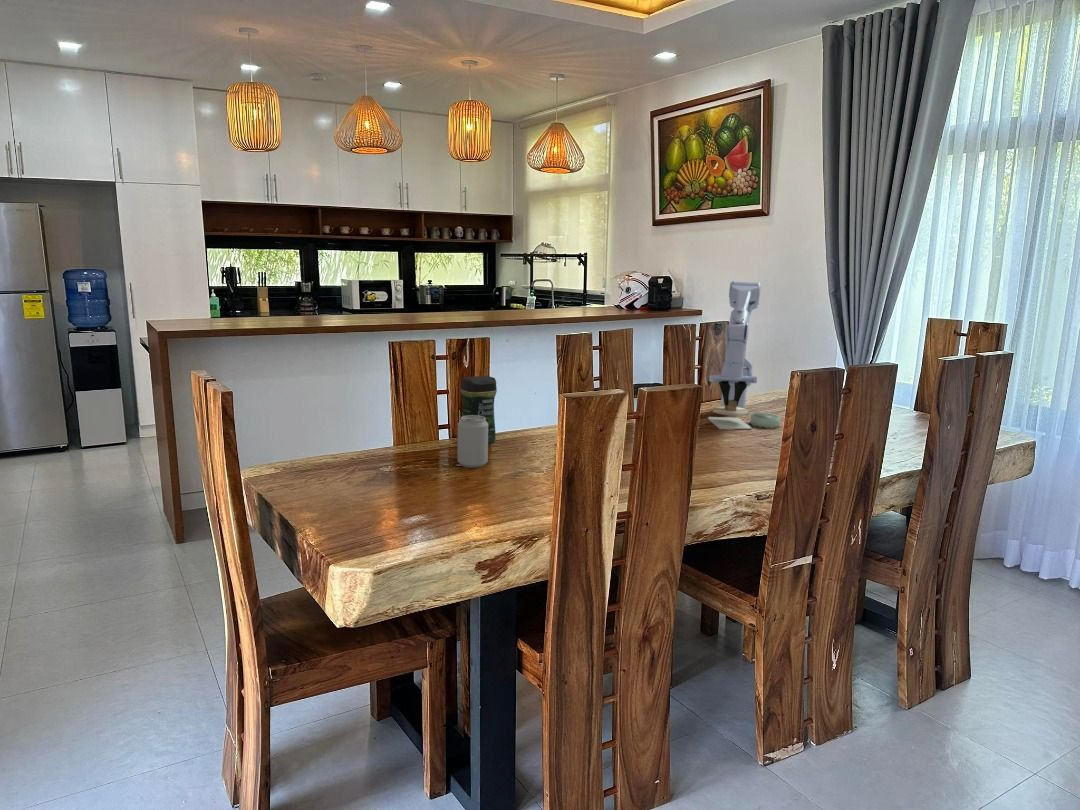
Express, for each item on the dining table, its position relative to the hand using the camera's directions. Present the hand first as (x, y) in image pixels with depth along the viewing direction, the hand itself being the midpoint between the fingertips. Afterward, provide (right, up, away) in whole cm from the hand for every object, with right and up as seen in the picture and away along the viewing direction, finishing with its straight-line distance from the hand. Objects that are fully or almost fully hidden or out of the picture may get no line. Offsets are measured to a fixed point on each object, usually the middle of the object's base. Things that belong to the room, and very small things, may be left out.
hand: (730, 404), depth 231 cm
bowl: (+11, -6, +2) cm, 13 cm away
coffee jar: (-77, -11, -29) cm, 83 cm away
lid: (0, -2, 0) cm, 2 cm away
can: (-77, -15, -49) cm, 93 cm away
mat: (0, -6, +1) cm, 6 cm away
